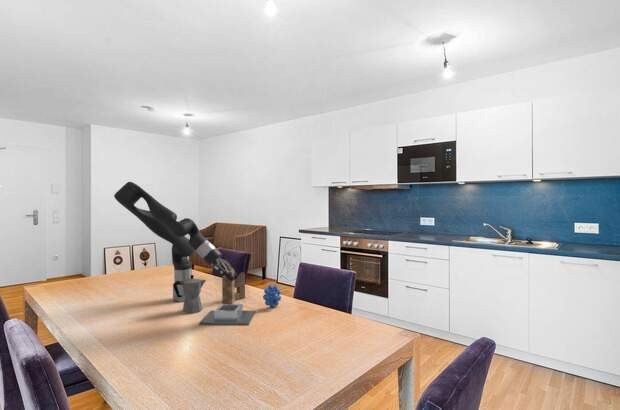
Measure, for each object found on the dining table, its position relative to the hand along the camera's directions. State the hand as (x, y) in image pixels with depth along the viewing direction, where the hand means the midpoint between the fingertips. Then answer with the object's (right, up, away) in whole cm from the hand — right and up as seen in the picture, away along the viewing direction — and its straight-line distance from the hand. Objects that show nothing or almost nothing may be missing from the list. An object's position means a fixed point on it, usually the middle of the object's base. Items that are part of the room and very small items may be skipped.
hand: (234, 278), depth 157 cm
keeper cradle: (-3, -19, +2) cm, 19 cm away
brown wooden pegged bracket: (-6, -18, +31) cm, 36 cm away
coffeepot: (-25, -19, +12) cm, 33 cm away
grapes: (+16, -19, +16) cm, 30 cm away
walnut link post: (-3, -11, 0) cm, 12 cm away
